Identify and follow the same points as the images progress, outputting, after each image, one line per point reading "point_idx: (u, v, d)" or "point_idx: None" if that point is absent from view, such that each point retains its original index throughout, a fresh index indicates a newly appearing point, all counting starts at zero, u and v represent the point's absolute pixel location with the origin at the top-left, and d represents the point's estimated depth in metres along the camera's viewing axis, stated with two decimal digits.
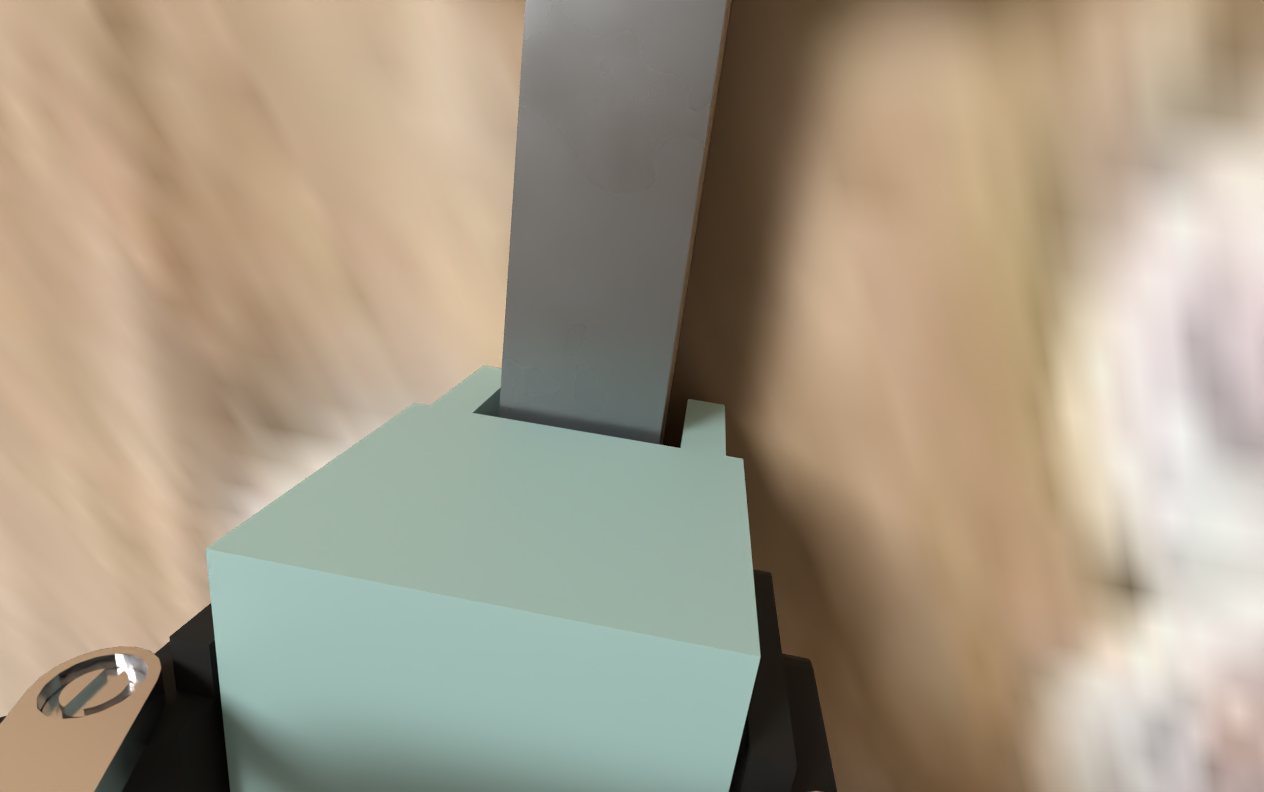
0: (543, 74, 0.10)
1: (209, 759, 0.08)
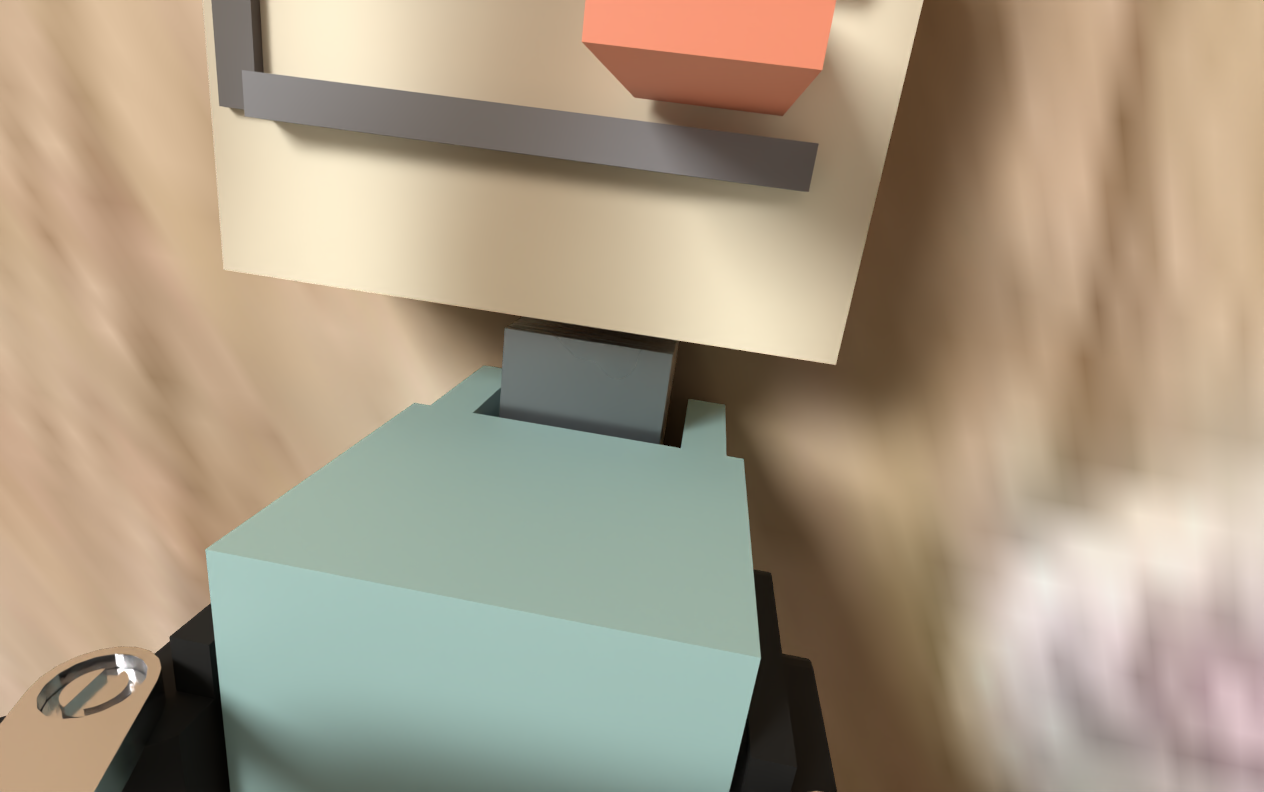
0: None
1: (209, 759, 0.08)
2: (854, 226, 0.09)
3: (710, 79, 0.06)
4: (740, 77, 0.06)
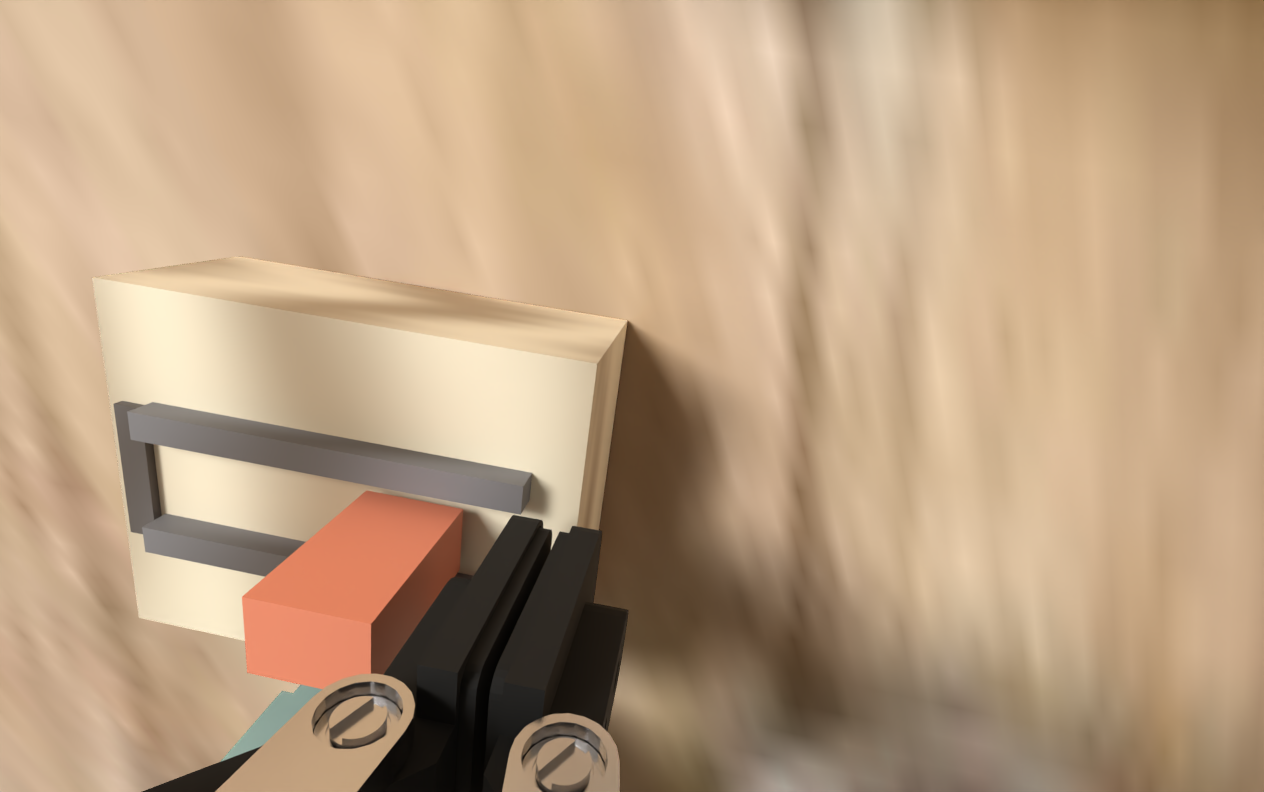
0: None
1: (447, 785, 0.08)
2: None
3: None
4: None
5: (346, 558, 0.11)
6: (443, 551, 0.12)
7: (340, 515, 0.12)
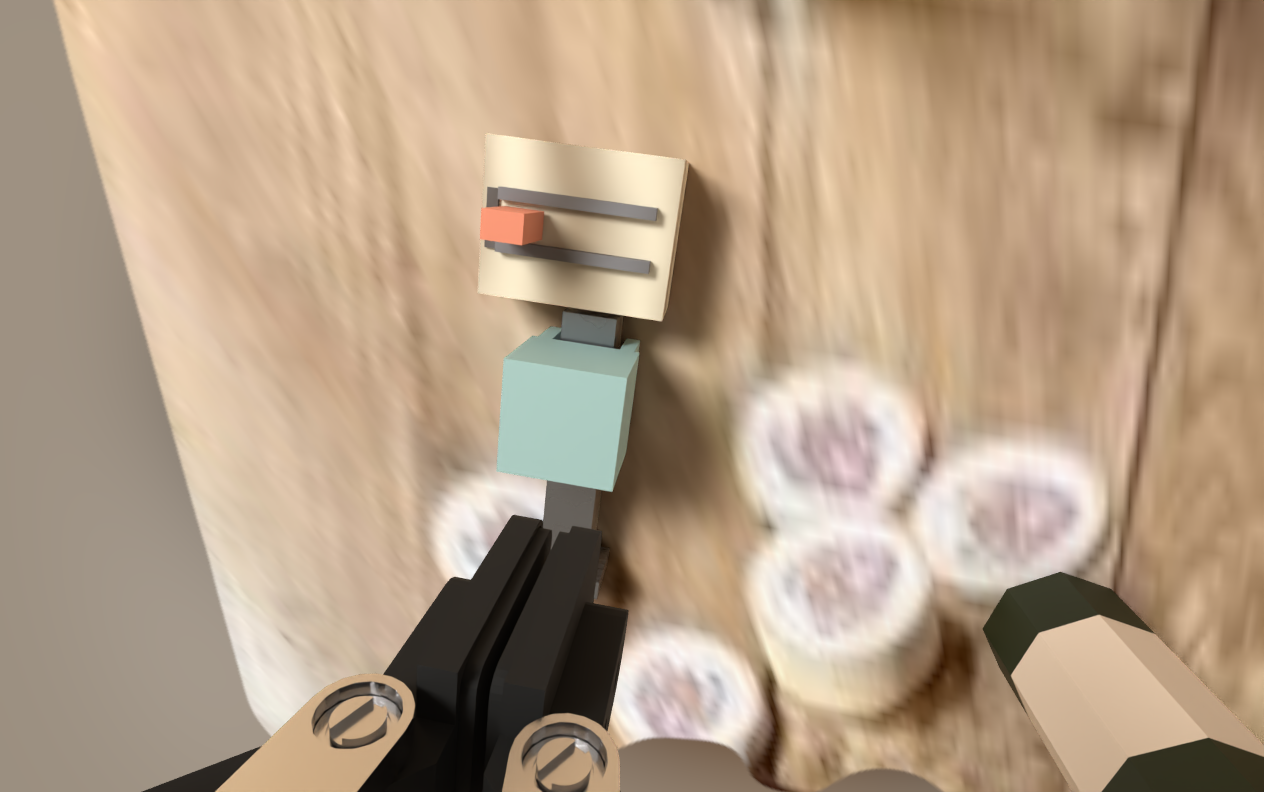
0: None
1: (446, 784, 0.08)
2: (663, 282, 0.33)
3: None
4: None
5: (508, 209, 0.30)
6: (538, 220, 0.31)
7: (500, 206, 0.31)
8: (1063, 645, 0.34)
